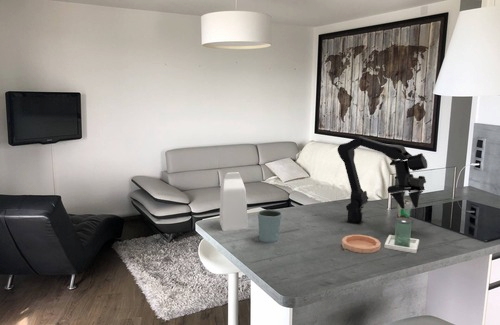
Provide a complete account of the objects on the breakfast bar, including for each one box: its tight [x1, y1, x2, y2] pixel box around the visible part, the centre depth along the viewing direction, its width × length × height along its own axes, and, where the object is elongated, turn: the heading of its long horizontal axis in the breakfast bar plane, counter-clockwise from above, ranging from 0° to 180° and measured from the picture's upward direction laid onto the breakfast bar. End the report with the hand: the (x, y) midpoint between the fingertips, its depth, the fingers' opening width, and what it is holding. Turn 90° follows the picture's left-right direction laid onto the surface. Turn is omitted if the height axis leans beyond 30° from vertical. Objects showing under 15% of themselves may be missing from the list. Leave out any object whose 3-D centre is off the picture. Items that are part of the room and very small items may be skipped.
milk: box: [219, 171, 249, 232], centre depth 189 cm, size 12×12×26 cm
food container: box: [396, 198, 414, 219], centre depth 197 cm, size 12×6×10 cm, turn 168°
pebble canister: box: [394, 217, 413, 247], centre depth 164 cm, size 6×6×11 cm
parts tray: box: [384, 234, 420, 254], centre depth 165 cm, size 12×12×2 cm
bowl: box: [341, 234, 382, 254], centre depth 165 cm, size 15×15×3 cm
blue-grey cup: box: [257, 209, 282, 244], centre depth 173 cm, size 10×10×12 cm
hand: (409, 208), depth 175 cm, fingers open, 9 cm apart
